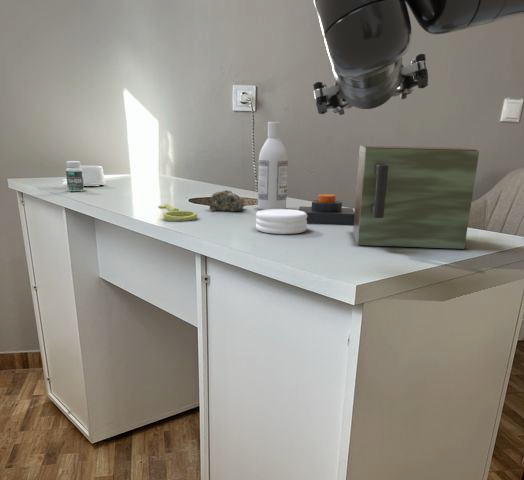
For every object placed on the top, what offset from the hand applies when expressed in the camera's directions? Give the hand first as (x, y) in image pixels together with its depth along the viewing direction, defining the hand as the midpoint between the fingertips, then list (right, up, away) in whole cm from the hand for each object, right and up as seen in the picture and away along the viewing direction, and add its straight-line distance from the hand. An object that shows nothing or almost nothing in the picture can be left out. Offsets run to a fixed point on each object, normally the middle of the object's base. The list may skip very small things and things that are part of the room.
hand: (371, 99), depth 77 cm
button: (-1, -3, +44) cm, 44 cm away
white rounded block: (-73, +19, +105) cm, 130 cm away
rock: (-23, -1, +57) cm, 62 cm away
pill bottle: (-71, +13, +89) cm, 115 cm away
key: (-34, -6, +45) cm, 57 cm away
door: (+10, -18, +16) cm, 26 cm away
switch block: (-1, -6, +45) cm, 45 cm away
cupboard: (+11, -15, +25) cm, 31 cm away
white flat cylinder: (-12, -12, +32) cm, 36 cm away
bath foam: (-13, 0, +60) cm, 61 cm away
